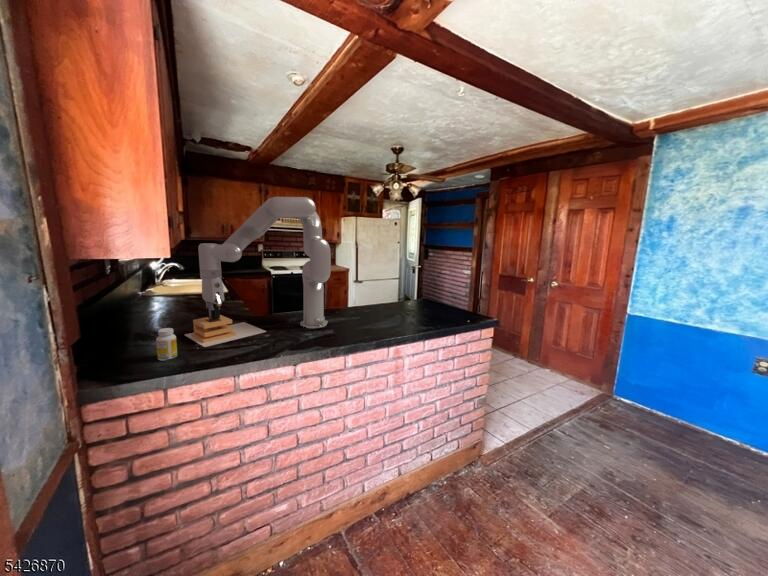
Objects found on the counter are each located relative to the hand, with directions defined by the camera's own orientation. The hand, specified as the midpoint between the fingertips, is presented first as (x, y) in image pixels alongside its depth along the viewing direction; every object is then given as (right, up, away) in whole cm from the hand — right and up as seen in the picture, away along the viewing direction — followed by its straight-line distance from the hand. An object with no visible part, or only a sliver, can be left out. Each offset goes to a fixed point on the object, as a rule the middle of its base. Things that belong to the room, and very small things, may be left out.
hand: (213, 317), depth 128 cm
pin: (0, -3, +1) cm, 3 cm away
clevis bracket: (0, -8, +1) cm, 8 cm away
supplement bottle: (-5, -12, -20) cm, 24 cm away
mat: (+3, -8, +5) cm, 10 cm away
